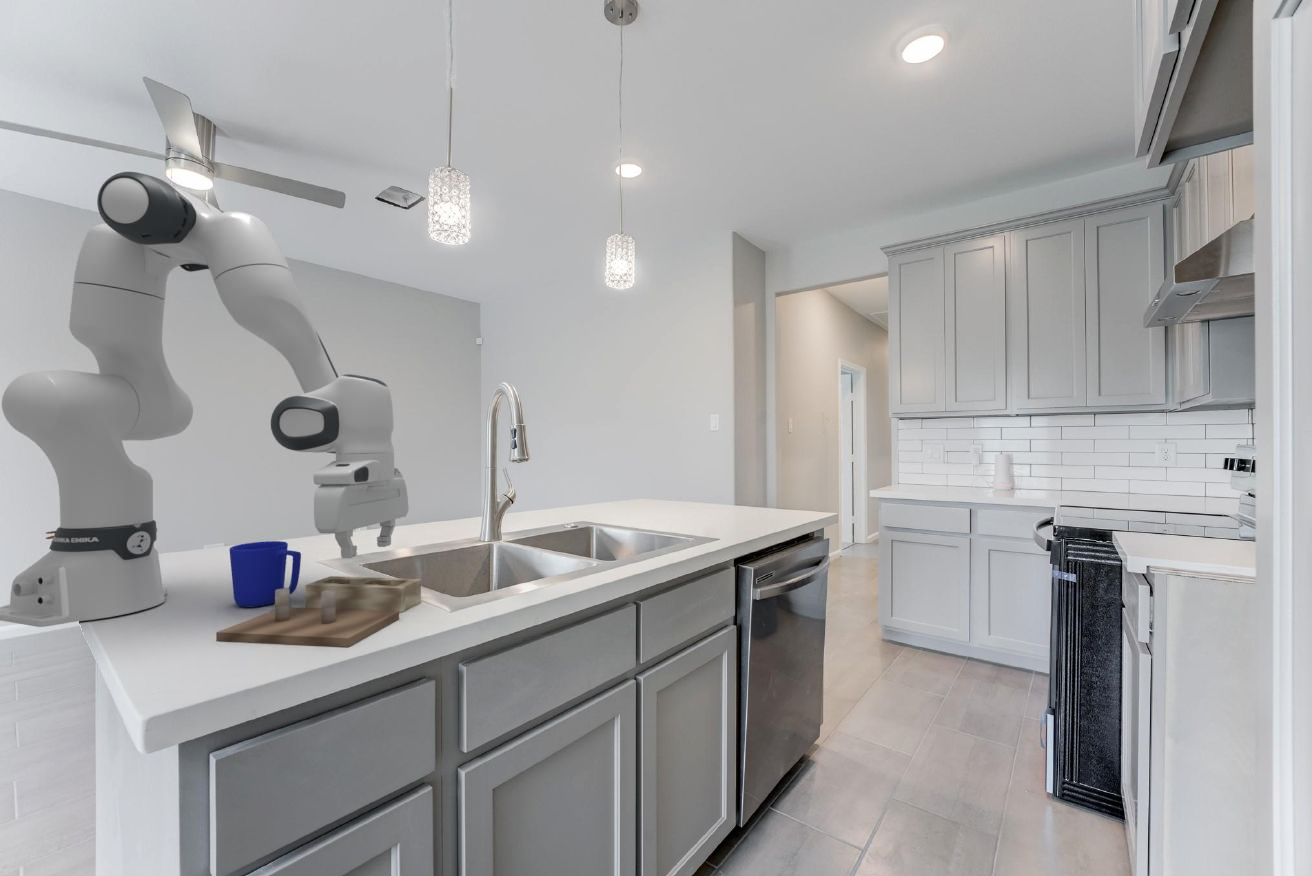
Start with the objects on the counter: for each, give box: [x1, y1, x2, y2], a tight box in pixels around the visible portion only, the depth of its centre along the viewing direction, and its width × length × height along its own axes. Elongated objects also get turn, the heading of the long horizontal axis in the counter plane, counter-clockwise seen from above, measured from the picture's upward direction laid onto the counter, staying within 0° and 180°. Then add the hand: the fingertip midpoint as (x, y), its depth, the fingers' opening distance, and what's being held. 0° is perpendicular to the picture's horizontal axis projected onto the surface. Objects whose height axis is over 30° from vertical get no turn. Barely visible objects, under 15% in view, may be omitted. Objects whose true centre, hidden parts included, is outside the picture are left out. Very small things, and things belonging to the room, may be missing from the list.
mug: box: [229, 540, 302, 608], centre depth 96 cm, size 8×12×10 cm
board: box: [215, 587, 400, 648], centre depth 83 cm, size 20×12×6 cm, turn 83°
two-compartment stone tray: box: [304, 575, 422, 614], centre depth 95 cm, size 17×6×4 cm, turn 83°
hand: (367, 551), depth 95 cm, fingers open, 8 cm apart
